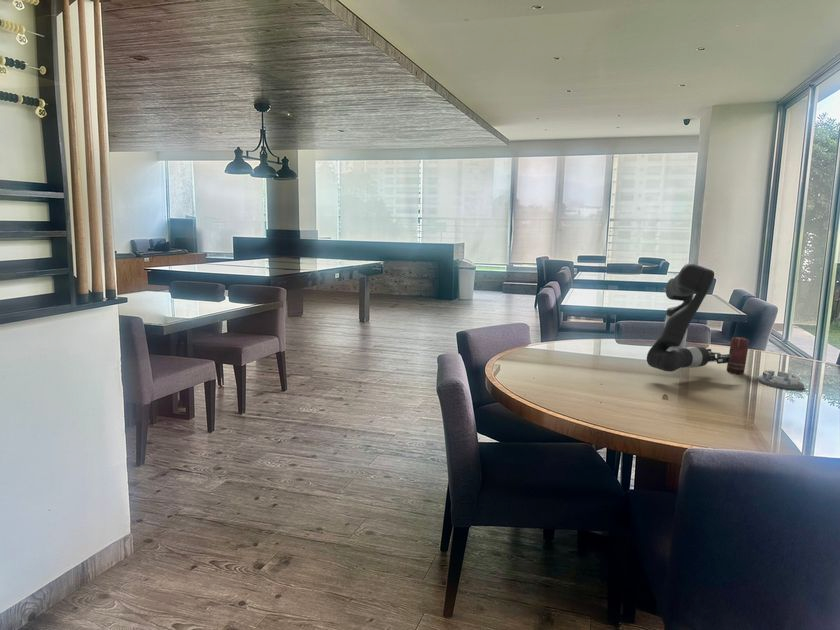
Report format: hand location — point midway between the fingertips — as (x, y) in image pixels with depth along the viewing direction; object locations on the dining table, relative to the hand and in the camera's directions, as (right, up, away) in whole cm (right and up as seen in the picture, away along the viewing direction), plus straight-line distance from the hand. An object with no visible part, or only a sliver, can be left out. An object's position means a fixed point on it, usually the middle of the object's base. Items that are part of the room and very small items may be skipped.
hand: (720, 354), depth 219 cm
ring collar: (+19, -10, -6) cm, 22 cm away
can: (+9, -8, +7) cm, 14 cm away
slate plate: (+19, -10, -6) cm, 22 cm away
